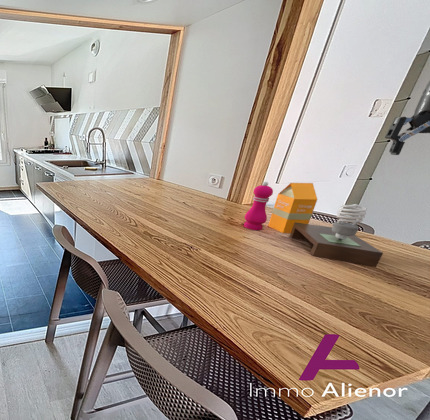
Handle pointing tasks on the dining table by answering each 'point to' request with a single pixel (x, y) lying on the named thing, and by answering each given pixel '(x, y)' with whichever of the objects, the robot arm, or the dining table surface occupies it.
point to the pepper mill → (258, 207)
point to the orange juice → (293, 206)
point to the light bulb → (346, 228)
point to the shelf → (336, 245)
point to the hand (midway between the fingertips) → (416, 155)
